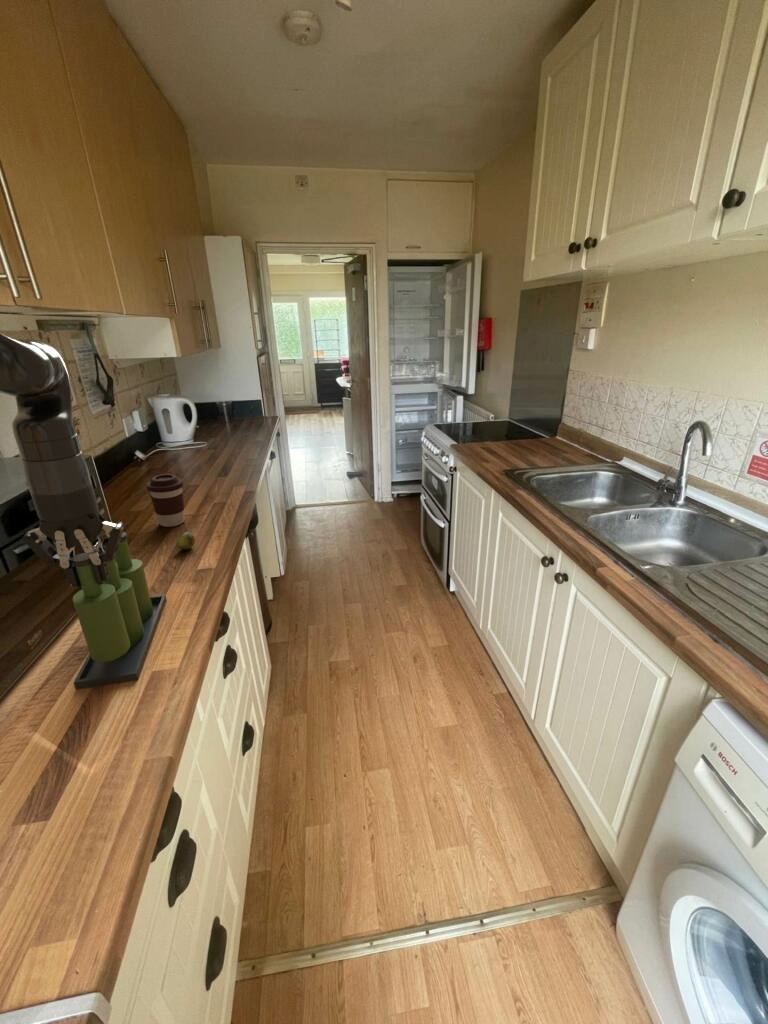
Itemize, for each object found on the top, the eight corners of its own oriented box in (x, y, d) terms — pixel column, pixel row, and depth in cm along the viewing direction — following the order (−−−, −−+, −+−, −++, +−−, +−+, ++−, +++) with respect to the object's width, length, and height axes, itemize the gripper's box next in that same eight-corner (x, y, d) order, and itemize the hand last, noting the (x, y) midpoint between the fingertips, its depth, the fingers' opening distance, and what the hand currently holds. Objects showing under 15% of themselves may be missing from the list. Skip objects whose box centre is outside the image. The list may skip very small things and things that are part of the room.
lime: (177, 553, 116) (174, 537, 114) (181, 545, 121) (178, 529, 119) (194, 552, 117) (191, 536, 115) (198, 544, 122) (195, 528, 120)
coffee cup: (173, 531, 129) (164, 484, 123) (147, 526, 131) (137, 480, 125) (196, 518, 137) (189, 474, 131) (171, 514, 140) (163, 470, 134)
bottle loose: (83, 655, 74) (51, 560, 67) (116, 635, 79) (89, 544, 72) (105, 666, 72) (75, 570, 64) (138, 645, 77) (113, 552, 69)
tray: (138, 682, 75) (136, 673, 74) (76, 692, 72) (73, 682, 71) (167, 602, 96) (165, 594, 95) (119, 608, 94) (117, 600, 93)
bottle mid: (102, 643, 83) (76, 557, 75) (131, 625, 88) (109, 543, 80) (123, 652, 80) (98, 565, 73) (151, 634, 85) (131, 550, 78)
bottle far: (115, 618, 89) (92, 538, 82) (141, 603, 94) (121, 526, 87) (134, 627, 87) (112, 545, 79) (159, 611, 92) (141, 532, 84)
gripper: (121, 473, 68) (143, 567, 75) (18, 478, 65) (51, 576, 72) (105, 489, 62) (131, 590, 68) (-10, 496, 58) (29, 601, 65)
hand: (90, 582), depth 70 cm, fingers closed on bottle loose, 3 cm apart
